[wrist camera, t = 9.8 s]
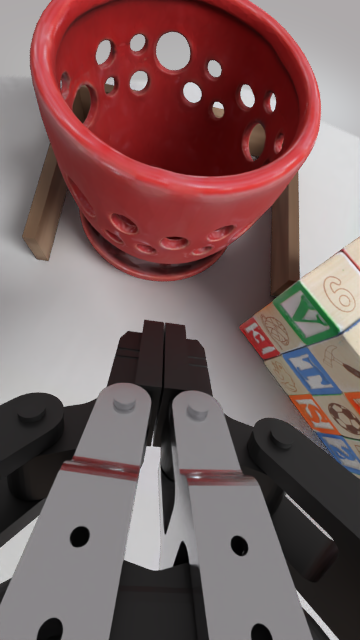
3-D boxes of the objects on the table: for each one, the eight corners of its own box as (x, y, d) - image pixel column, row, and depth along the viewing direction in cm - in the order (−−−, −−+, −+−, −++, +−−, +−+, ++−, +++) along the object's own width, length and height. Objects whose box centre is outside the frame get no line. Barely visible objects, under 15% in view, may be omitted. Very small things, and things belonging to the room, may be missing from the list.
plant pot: (112, 323, 21) (83, 227, 10) (58, 175, 24) (-13, -34, 13) (268, 270, 24) (384, 148, 13) (204, 143, 27) (253, -49, 16)
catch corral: (37, 259, 22) (21, 236, 19) (77, 112, 26) (70, 76, 23) (280, 296, 24) (299, 281, 21) (281, 154, 28) (297, 125, 25)
